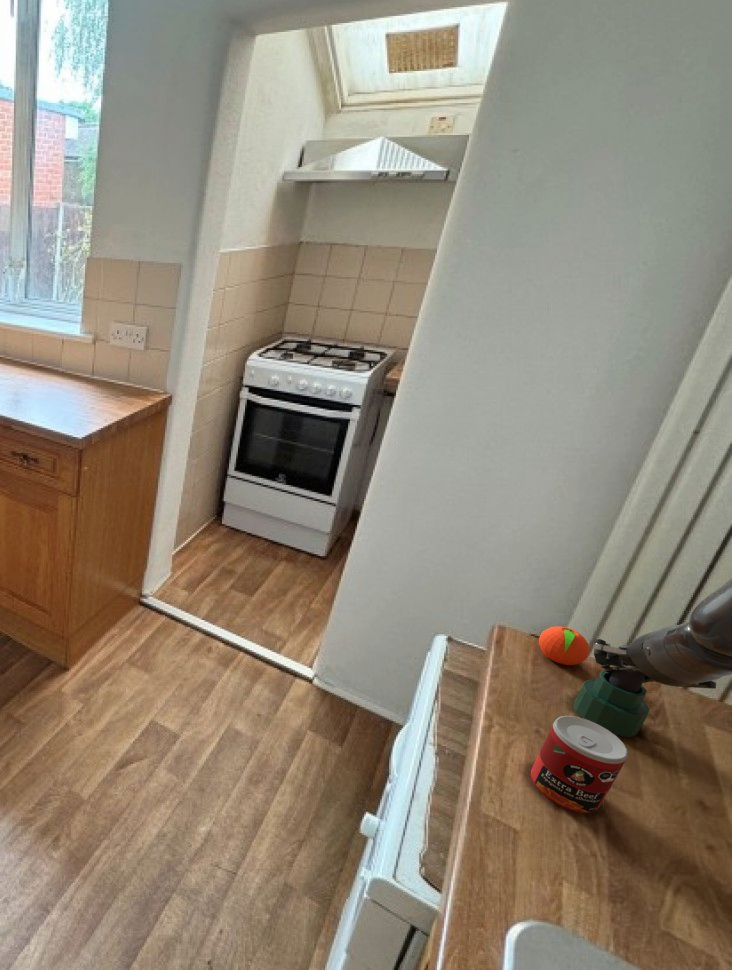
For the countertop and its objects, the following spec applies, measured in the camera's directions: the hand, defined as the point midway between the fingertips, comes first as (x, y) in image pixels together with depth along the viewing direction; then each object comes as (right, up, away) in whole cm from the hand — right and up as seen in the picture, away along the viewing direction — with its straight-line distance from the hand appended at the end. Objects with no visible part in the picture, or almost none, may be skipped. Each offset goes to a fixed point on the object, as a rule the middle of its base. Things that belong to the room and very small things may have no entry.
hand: (623, 670), depth 99 cm
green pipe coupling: (-1, -9, +2) cm, 9 cm away
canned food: (-21, -14, -11) cm, 27 cm away
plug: (-1, -4, 0) cm, 4 cm away
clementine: (+3, -4, +15) cm, 16 cm away
